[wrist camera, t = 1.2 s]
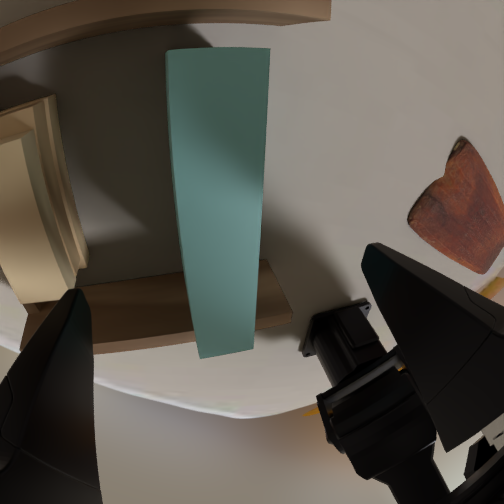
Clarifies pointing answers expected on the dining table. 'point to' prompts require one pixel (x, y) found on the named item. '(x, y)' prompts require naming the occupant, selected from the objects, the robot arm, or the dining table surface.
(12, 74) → the dining table surface
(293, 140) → the dining table surface
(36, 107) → the offcut stack
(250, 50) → the teal sheet
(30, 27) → the walnut rack
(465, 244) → the wooden tablet
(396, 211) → the dining table surface
